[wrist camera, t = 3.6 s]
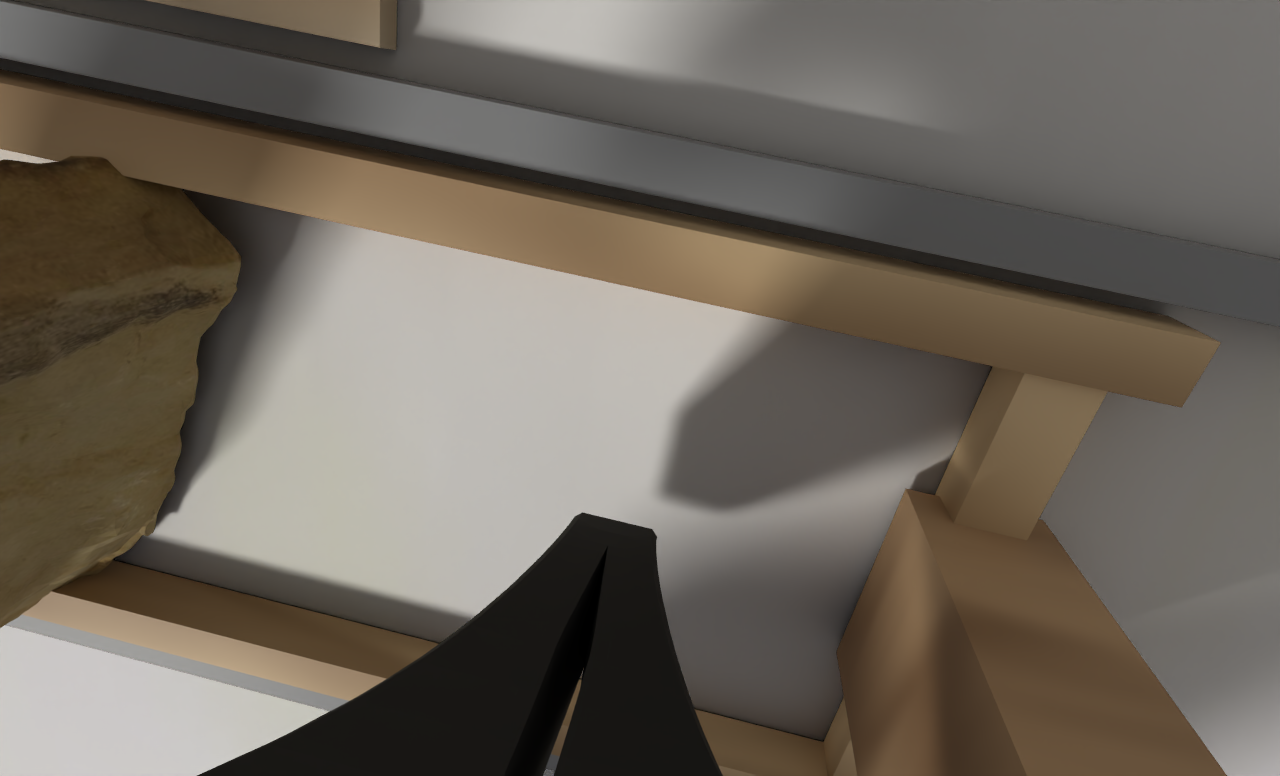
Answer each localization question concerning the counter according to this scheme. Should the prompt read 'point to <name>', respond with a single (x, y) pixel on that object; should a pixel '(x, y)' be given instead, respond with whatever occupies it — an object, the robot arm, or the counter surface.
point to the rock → (94, 362)
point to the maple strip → (312, 16)
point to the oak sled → (768, 286)
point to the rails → (630, 164)
